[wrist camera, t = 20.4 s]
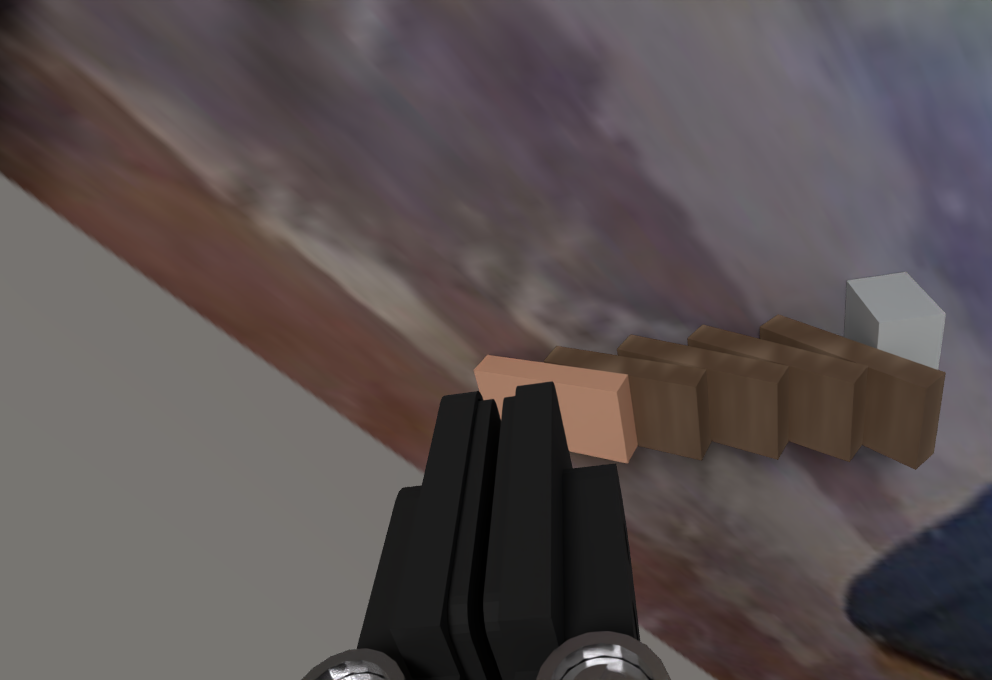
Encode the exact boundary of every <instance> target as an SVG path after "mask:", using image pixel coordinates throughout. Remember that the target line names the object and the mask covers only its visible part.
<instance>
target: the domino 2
mask: <svg viewBox="0 0 992 680" xmlns="http://www.w3.org/2000/svg"><path fill="white" fill-rule="evenodd" d="M544 363H549V364H556V365H563V366H570V367H577V368H585V369H592V370H599V371H606V372H613V373H620V374H628V379H629V386H630V393H631V400H632V407H633V415H634V422H635V429H636V436H637V443H638V446H641V447H645V448H650V449H654V450H658V451H663V452H667V453H671V454H676V455H680V456H684V457H689V458H693V459H697V460H702V459H703V457H704V455H705V453H706V451H707V449H708V447H709V445H710V444H711V430H710V416H709V402H708V388H707V374H706V369H701V368H694V367H688V366H681V365H675V364H669V363H662V362H656V361H649V360H643V359H637V358H630V357H624V356H617V355H611V354H605V353H598V352H592V351H586V350H579V349H573V348H566V347H560V346H556V347H555V349H554V350H553V351H552V352H551V353H550V354H549V355H548V357H547V358H546V359H545V360H544Z"/></svg>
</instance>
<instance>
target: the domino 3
mask: <svg viewBox="0 0 992 680" xmlns="http://www.w3.org/2000/svg"><path fill="white" fill-rule="evenodd" d="M617 352H618V356H624V357H630V358H637V359H643V360H649V361H656V362H662V363H669V364H675V365H681V366H688V367H694V368H701V369H706V374H707V388H708V402H709V416H710V430H711V441H713V442H717V443H720V444H724V445H727V446H731V447H734V448H738V449H742V450H745V451H749V452H752V453H756V454H759V455H763V456H766V457H770V458H773V459H777V460H778V459H779V457H780V455H781V453H782V452H783V450H784V448H785V446H786V445H787V443H788V439H789V366H786V365H781V364H776V363H771V362H766V361H761V360H756V359H751V358H746V357H741V356H736V355H731V354H726V353H721V352H716V351H711V350H706V349H701V348H696V347H691V346H686V345H681V344H676V343H671V342H666V341H661V340H656V339H651V338H646V337H641V336H636V335H630V336H629V337H628V338H627V339H626V340H625V341H624V342H623V343H622V344H621V345H620V346H619V347H618V348H617Z"/></svg>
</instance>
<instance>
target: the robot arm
mask: <svg viewBox="0 0 992 680" xmlns="http://www.w3.org/2000/svg"><path fill="white" fill-rule="evenodd" d="M301 680H671V679H670V677H669V675H668V673H667V671H666V669H665V667H664V665H663V663H662V661H661V659H660V658H659V657H658V656H657V655H656V654H655V653H654V652H653V651H652V650H651V649H650V648H649V647H648V646H647V645H645V644H643V643H642V642H640V635H639V627H638V618H637V609H636V601H635V592H634V584H633V575H632V566H631V558H630V550H629V542H628V535H627V528H626V521H625V514H624V507H623V501H622V495H621V489H620V483H619V477H618V471H617V466H616V464H609V465H600V466H591V467H582V468H572V464H571V459H570V454H569V449H568V445H567V440H566V435H565V430H564V426H563V421H562V416H561V411H560V407H559V402H558V397H557V393H556V388H555V385H554V382H553V381H550V382H543V383H535V384H528V385H521V386H517V387H516V392H515V396H511V397H505V398H504V399H503V407H502V417H501V418H500V415H499V411H498V407H497V404H496V402H495V400H494V399H489V400H483V397H482V395H481V393H480V392H479V391H476V392H469V393H461V394H454V395H447V396H443V397H442V399H441V402H440V407H439V411H438V416H437V420H436V425H435V429H434V434H433V438H432V443H431V447H430V451H429V456H428V460H427V465H426V469H425V474H424V478H423V483H422V486H414V487H405V488H402V489H401V490H400V491H399V493H398V495H397V498H396V501H395V505H394V508H393V512H392V516H391V520H390V524H389V527H388V532H387V535H386V539H385V543H384V547H383V550H382V554H381V558H380V562H379V565H378V570H377V573H376V577H375V581H374V585H373V589H372V592H371V596H370V600H369V604H368V608H367V611H366V615H365V619H364V623H363V627H362V630H361V634H360V638H359V642H358V646H357V649H352V650H347V651H344V652H341V653H338V654H336V655H333V656H330V657H329V658H327V659H326V660H324V661H323V662H321V663H320V664H318V665H317V666H315V667H313V668H312V669H311V670H310V671H309V672H308V673H307V674H306V675H305V676H304V677H303V678H302V679H301Z"/></svg>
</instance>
